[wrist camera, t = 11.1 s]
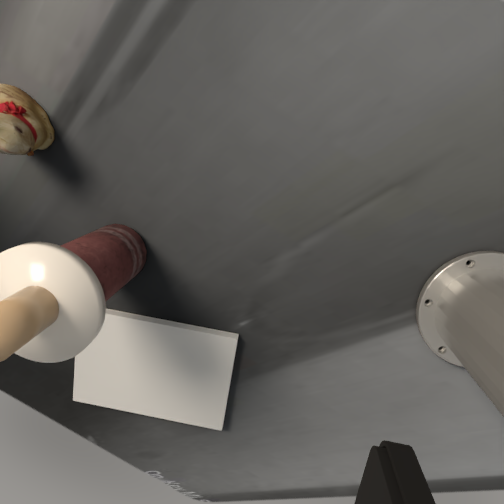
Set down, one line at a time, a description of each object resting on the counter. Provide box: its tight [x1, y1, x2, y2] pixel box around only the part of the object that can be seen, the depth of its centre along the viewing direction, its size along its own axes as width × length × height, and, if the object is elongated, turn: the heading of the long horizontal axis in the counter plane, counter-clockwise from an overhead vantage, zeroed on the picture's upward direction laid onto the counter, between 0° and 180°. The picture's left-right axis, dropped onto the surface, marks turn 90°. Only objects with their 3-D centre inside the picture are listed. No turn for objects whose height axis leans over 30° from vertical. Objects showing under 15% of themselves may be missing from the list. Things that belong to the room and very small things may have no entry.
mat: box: [73, 308, 239, 431], centre depth 46 cm, size 18×12×1 cm, turn 81°
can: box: [61, 224, 147, 302], centre depth 37 cm, size 6×6×14 cm
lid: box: [0, 242, 106, 363], centre depth 27 cm, size 9×9×6 cm
